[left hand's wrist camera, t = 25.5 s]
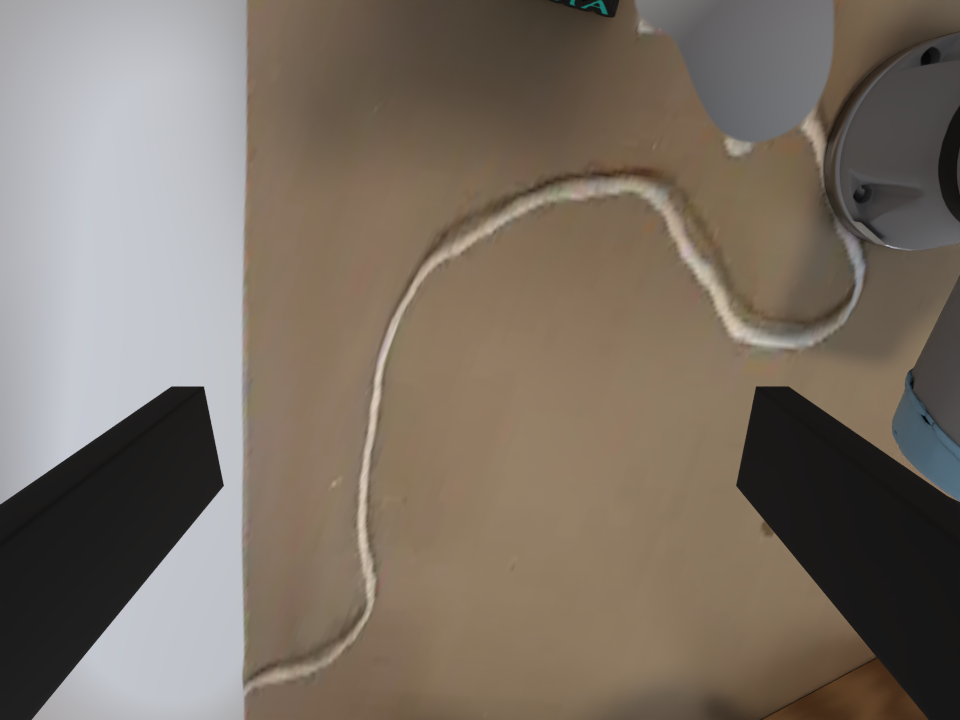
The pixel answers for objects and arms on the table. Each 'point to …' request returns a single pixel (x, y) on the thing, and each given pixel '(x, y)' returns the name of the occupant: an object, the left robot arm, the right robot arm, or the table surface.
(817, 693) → the bar
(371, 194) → the table surface
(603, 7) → the decorative sign
